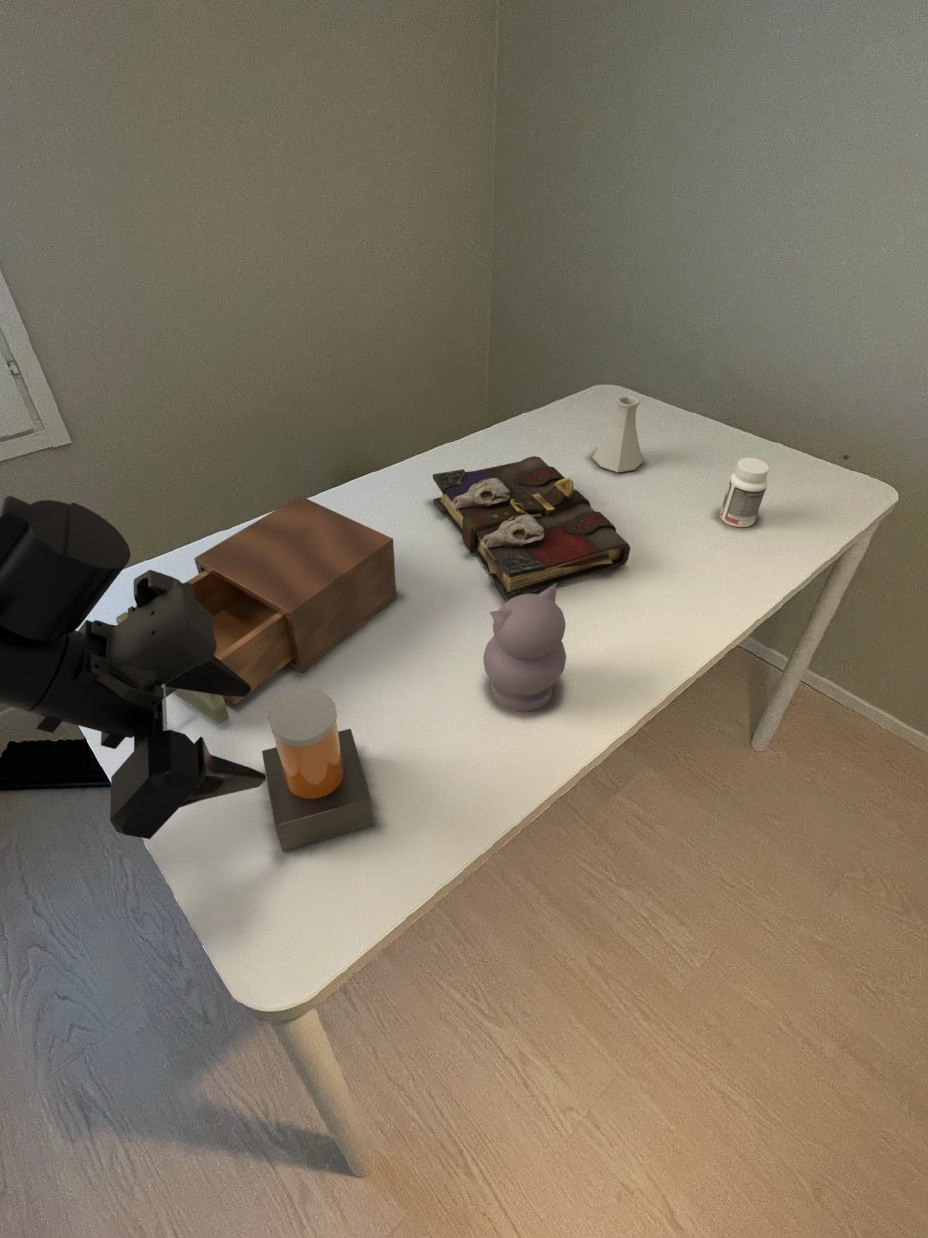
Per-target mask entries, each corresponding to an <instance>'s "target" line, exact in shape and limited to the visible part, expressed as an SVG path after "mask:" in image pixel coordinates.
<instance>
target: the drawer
mask: <svg viewBox="0 0 928 1238" xmlns="http://www.w3.org/2000/svg"><path fill="white" fill-rule="evenodd" d="M186 582H187V583H191V584H192V585H193V587H194V596H195V600H196V601H197V602H199V603H200V604H201V605H202V606H203V607H204V608H205V609H206V610H207V611H208V612H210V613H211V614H212V615H213V618H214V622H213V623H212V624H213V632H214V638H215V640H216V642H217V649H216V652H215V654H214V656H215V657H216V658H217V659H219V660H220V661H221V662H222V663H224V664H225V665H226V666H227V667H228V668H230V669H231V670H232V671H233V672H235V673H236V674H237V675H238V676H239V677H241V678H242V679H243V680H244V681H246V682H247V683H248V684H249V685H250V686H251V691H250V692H249V693H248V694H247V695H246V696H248V695H249V694H250V693H252V692H253V691H254V690H256V689H257V688H258V687H259V686H260V685H262V684H263V683H264V682H266V681H268V679H269V678H271V677H272V676H274V675H275V674H276V673H277V672H278V671H280V670H281V669H282V668H284V667H285V666H286V665H288V664H287V663H289V662H290V661H291V660H293V659H294V658H295V657H294V652H293V647H292V642H291V637H290V632H289V627H288V622H287V617H286V615H284V614H282V613H281V612H279V611H277V610H275V609H274V608H272V607H270V606H268V605H267V604H265V603H263V602H261V601H260V600H258V599H256V598H254V597H253V596H251V595H249V594H247V593H246V592H244V591H242V590H240V589H239V588H237V587H235V586H233V585H232V584H230V583H228V582H226V581H225V580H223V579H221V578H219V577H218V576H216V575H214V574H212V573H211V572H209V571H207V570H205V571H203V572H202V573H200V574H199V573H197V575H195V576H193V577H192V578H190V579H189V580H187V581H185V582H184V583H186ZM127 617H128V611H125V612H123V613H121V614H120V615H117V616H116V617H115V621H116V624H117V625H118V624H119V623H121V622H122V621H124V620H125V619H126V618H127ZM165 689H166V698H167V697H169V696H170V695H172V694H175V695H176V696H178V697H179V698H180V699H182V700H183V701H185V702H186V703H188V704H189V705H191V707H193V708H195V709H196V710H198V711H199V712H200V713H202V714H203V715H205V716H206V717H208V718H209V719H210V720H211V721H213V722H215V724H217V725H219V726H221V725H223V724H224V723H225V722H227V721H228V720H229V719H230V714H229V712H228V708H227V705H226V703H225V700H224V698H225V699H226V700H228V701H229V702H230V703H232V704H233V705H236V704H237V703H239V702H240V701H242V699H244V698H245V697H232V696H222V695H215V694H209V693H202V692H196V691H189V690H183V689H175V688H169V687H165Z"/></svg>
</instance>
